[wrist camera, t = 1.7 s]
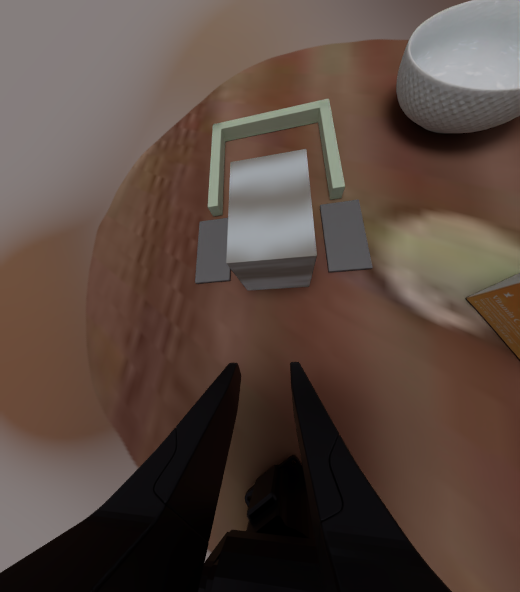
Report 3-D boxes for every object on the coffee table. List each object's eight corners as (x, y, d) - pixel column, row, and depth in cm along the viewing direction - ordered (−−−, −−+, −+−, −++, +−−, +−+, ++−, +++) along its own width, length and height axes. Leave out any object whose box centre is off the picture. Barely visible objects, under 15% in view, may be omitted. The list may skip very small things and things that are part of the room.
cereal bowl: (551, 108, 25) (647, 19, 18) (449, 179, 24) (508, 115, 18) (442, 59, 30) (484, -24, 23) (357, 117, 30) (376, 50, 23)
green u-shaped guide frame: (371, 268, 23) (378, 261, 21) (196, 283, 27) (189, 278, 25) (339, 111, 31) (342, 95, 29) (207, 139, 34) (202, 126, 32)
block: (308, 286, 24) (316, 255, 16) (247, 290, 25) (226, 263, 17) (302, 208, 27) (306, 149, 19) (248, 215, 28) (230, 162, 20)
